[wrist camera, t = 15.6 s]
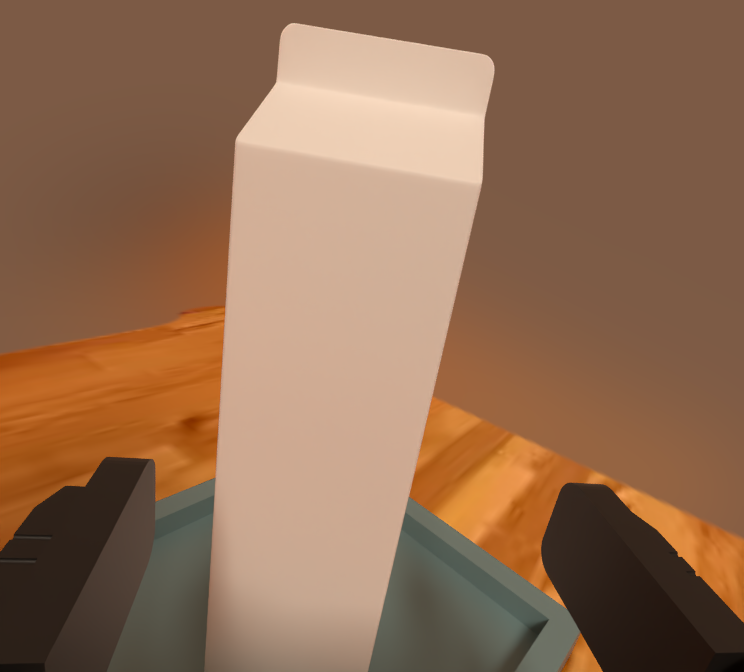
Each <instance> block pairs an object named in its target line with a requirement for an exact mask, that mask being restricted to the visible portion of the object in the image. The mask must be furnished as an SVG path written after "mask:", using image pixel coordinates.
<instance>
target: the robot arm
mask: <svg viewBox="0 0 744 672" xmlns="http://www.w3.org/2000/svg"><path fill="white" fill-rule="evenodd" d="M154 535H155V463H154V460H153V459H138V458H120V457H106V458H105V459H104V460H103V461H102V462H101V464H100V465H99V467H98V468H97V470H96V471H95V473H94V474H93V476H92V477H91V479H90V480H89V482H88V483H87V485H86V486H85V487H80V486H65V487H63V488H62V489H60V490H59V491H57V492H56V493H55V494H53V495H52V496H50V497H49V498H47V499H46V500H45V501H43V502H42V503H40V504H39V505H37V506H36V507H35V508H34V509H33V510H32V512H31V513H30V514H29V515H28V517H27V518H26V519H25V521H24V522H23V523H22V525H21V526H20V527H19V528H18V530H17V531H16V532H15V534H14V538H13V540H9V541H8V543H7V544H6V545H5V547H4V548H3V549H2V551H1V552H0V672H107V669H108V667H109V664H110V662H111V659H112V656H113V654H114V651H115V649H116V646H117V643H118V641H119V638H120V636H121V633H122V630H123V628H124V625H125V623H126V620H127V617H128V615H129V612H130V610H131V607H132V604H133V602H134V599H135V597H136V594H137V592H138V589H139V586H140V584H141V581H142V579H143V576H144V573H145V571H146V568H147V565H148V563H149V559H150V556H151V552H152V547H153V542H154ZM541 554H542V561H543V565H544V568H545V571H546V573H547V575H548V576H549V578H550V580H551V582H552V583H553V585H554V587H555V589H556V590H557V592H558V594H559V596H560V597H561V599H562V601H563V603H564V604H565V606H566V608H567V610H568V611H569V613H570V615H571V617H572V618H573V620H574V622H575V623H576V625H577V627H578V629H579V630H580V632H581V634H582V636H583V637H584V639H585V641H586V643H587V644H588V646H589V648H590V650H591V651H592V653H593V655H594V657H595V658H596V660H597V662H598V664H599V665H600V667H601V669H602V671H603V672H744V623H743V622H742V621H741V620H740V619H739V618H738V617H737V615H736V614H735V613H734V612H733V611H732V610H731V609H730V608H729V607H728V606H727V605H726V604H725V603H724V602H723V601H722V599H721V598H720V597H719V596H718V595H717V594H716V593H715V592H714V591H713V590H712V589H711V588H710V587H709V586H708V584H707V583H706V582H705V581H704V580H703V579H702V578H701V577H700V576H696V575H695V571H694V569H693V568H692V567H691V566H690V565H689V564H688V563H687V562H686V561H685V560H684V559H683V558H682V557H678V552H677V551H676V550H675V549H674V548H673V547H672V546H671V545H670V544H669V543H668V542H667V541H666V539H665V538H664V537H663V536H662V535H661V534H660V533H659V532H658V531H657V530H656V529H654V528H653V527H652V526H650V525H649V524H648V523H646V522H645V521H643V520H642V519H641V518H639V517H638V516H637V515H635V514H634V513H632V512H631V511H630V510H629V508H628V507H627V506H626V505H625V504H624V503H623V502H622V501H621V500H620V499H619V497H618V496H617V495H616V494H615V493H614V492H613V491H612V490H611V489H610V488H609V487H607V486H606V485H602V484H584V483H567V484H565V485H564V486H563V487H562V489H561V491H560V493H559V496H558V499H557V501H556V504H555V507H554V510H553V512H552V515H551V518H550V521H549V523H548V526H547V529H546V532H545V534H544V537H543V540H542V546H541Z"/></svg>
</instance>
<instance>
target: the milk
mask: <svg viewBox="0 0 744 672" xmlns="http://www.w3.org/2000/svg"><path fill="white" fill-rule="evenodd" d="M493 77H494V64H493V62H492V60H491V59H490V57H488V56H486V55H483V54H478V53H472V52H466V51H460V50H454V49H448V48H441V47H436V46H430V45H423V44H418V43H411V42H405V41H399V40H393V39H387V38H381V37H375V36H369V35H363V34H357V33H351V32H344V31H339V30H332V29H326V28H320V27H314V26H308V25H302V24H296V23H292V24H289V25H288V26H286V27H285V29H284V30H283V32H282V34H281V38H280V47H279V59H278V71H277V81H276V84H275V86H274V87H273V88H272V90H271V91H270V93H269V94H268V96H267V97H266V98H265V99H264V101H263V102H262V103H261V105H260V106H259V108H258V109H257V110H256V112H255V113H254V114H253V116H252V117H251V118H250V120H249V121H248V123H247V124H246V125H245V127H244V128H243V129H242V131H241V132H240V134H239V135H238V136H237V138H236V142H235V155H234V172H233V174H234V175H233V190H232V206H231V223H230V240H229V258H228V275H227V292H226V308H225V325H224V342H223V359H222V376H221V393H220V410H219V427H218V444H217V461H216V478H215V495H214V512H213V529H212V546H211V563H210V580H209V598H208V615H207V632H206V649H205V666H204V672H368V669H369V665H370V661H371V656H372V652H373V648H374V644H375V639H376V635H377V631H378V626H379V622H380V618H381V614H382V609H383V605H384V601H385V596H386V592H387V588H388V584H389V579H390V575H391V571H392V567H393V562H394V558H395V554H396V549H397V545H398V541H399V537H400V532H401V528H402V524H403V519H404V515H405V511H406V507H407V502H408V498H409V494H410V489H411V485H412V481H413V477H414V472H415V468H416V464H417V460H418V455H419V451H420V447H421V442H422V438H423V434H424V430H425V425H426V421H427V417H428V412H429V408H430V404H431V400H432V395H433V391H434V387H435V382H436V378H437V374H438V370H439V365H440V361H441V357H442V352H443V348H444V344H445V339H446V335H447V331H448V327H449V322H450V318H451V314H452V309H453V305H454V301H455V297H456V293H457V288H458V284H459V280H460V275H461V271H462V267H463V263H464V258H465V254H466V250H467V245H468V241H469V237H470V233H471V228H472V224H473V220H474V216H475V211H476V207H477V203H478V198H479V194H480V190H481V185H482V177H483V145H484V144H483V143H484V142H483V141H484V118H485V113H486V109H487V104H488V100H489V95H490V91H491V87H492V82H493Z"/></svg>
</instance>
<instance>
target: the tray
mask: <svg viewBox="0 0 744 672" xmlns="http://www.w3.org/2000/svg"><path fill="white" fill-rule="evenodd" d="M214 495H215V478H213V479H211V480H209V481H206V482H204V483H201V484H199V485H196V486H194V487H191V488H189V489H186V490H184V491H182V492H179V493H177V494H174V495H172V496H169V497H167V498H164V499H162V500H159V501H157V502H155V535H154V542H153V547H152V552H151V556H150V559H149V563H148V565H147V568H146V571H145V573H144V576H143V579H142V581H141V584H140V586H139V589H138V592H137V594H136V597H135V599H134V602H133V604H132V607H131V610H130V612H129V615H128V617H127V620H126V623H125V625H124V628H123V630H122V633H121V636H120V638H119V641H118V643H117V646H116V649H115V651H114V654H113V656H112V659H111V662H110V664H109V667H108V669H107V672H204V666H205V649H206V632H207V615H208V598H209V580H210V563H211V546H212V529H213V512H214ZM580 633H581V632H580V630H579V629H578V627H577V625H576V623H575V622H574V620H573V618H572V617H571V615H570V613H569V611H568V610H567V609H566V608H564V607H563V606H562V605H560V604H559V603H557V602H556V601H555V600H553V599H552V598H550V597H549V596H547V595H546V594H545V593H543V592H542V591H540V590H539V589H538V588H536V587H535V586H533V585H532V584H531V583H529V582H528V581H526V580H525V579H524V578H522V577H521V576H519V575H518V574H517V573H515V572H514V571H512V570H511V569H510V568H508V567H507V566H505V565H504V564H503V563H501V562H500V561H498V560H497V559H496V558H494V557H493V556H491V555H490V554H489V553H487V552H486V551H484V550H483V549H481V548H480V547H479V546H477V545H476V544H474V543H473V542H472V541H470V540H469V539H467V538H466V537H465V536H463V535H462V534H460V533H459V532H458V531H456V530H455V529H453V528H452V527H451V526H449V525H448V524H446V523H445V522H444V521H442V520H441V519H439V518H438V517H437V516H435V515H434V514H432V513H431V512H430V511H428V510H427V509H425V508H424V507H423V506H421V505H420V504H418V503H417V502H415V501H414V500H413V499H411V498H410V497H409V498H408V502H407V507H406V511H405V515H404V519H403V524H402V528H401V532H400V537H399V541H398V545H397V549H396V554H395V558H394V562H393V567H392V571H391V575H390V579H389V584H388V588H387V592H386V596H385V601H384V605H383V609H382V614H381V618H380V622H379V626H378V631H377V635H376V639H375V644H374V648H373V652H372V656H371V661H370V665H369V669H368V672H561V670H562V669H563V667H564V665H565V663H566V661H567V660H568V658H569V656H570V654H571V652H572V651H573V648H574V646H575V644H576V642H577V639H578V637H579V635H580Z"/></svg>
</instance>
